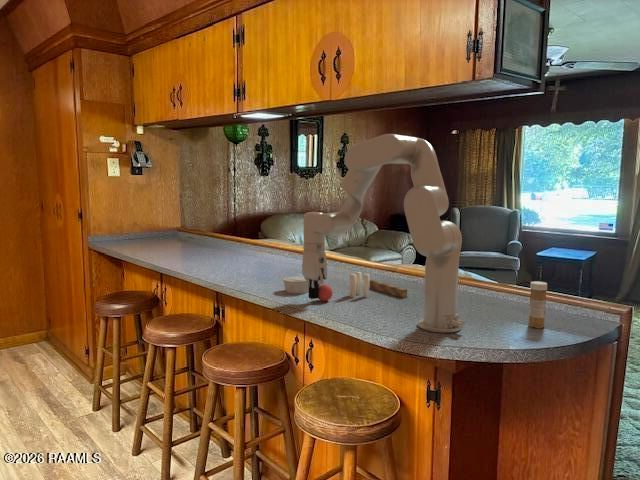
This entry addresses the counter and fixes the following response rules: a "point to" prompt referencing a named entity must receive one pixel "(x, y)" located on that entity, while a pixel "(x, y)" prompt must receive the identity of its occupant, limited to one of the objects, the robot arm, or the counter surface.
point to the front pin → (352, 285)
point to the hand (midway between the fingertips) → (313, 298)
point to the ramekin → (296, 284)
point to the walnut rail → (388, 288)
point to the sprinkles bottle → (537, 304)
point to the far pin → (358, 283)
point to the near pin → (366, 285)
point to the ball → (325, 292)
